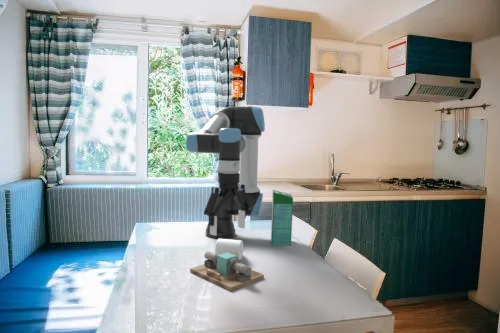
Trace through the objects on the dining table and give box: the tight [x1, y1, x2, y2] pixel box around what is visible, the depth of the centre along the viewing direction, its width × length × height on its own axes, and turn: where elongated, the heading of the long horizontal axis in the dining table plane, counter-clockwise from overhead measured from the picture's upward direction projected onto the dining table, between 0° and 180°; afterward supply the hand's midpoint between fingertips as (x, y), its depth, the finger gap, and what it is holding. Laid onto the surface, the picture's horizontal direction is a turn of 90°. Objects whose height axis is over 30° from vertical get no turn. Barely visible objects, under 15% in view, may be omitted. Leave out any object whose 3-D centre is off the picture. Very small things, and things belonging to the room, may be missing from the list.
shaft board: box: [189, 251, 265, 292], centre depth 125 cm, size 22×16×7 cm
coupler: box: [217, 252, 237, 275], centre depth 125 cm, size 6×5×6 cm
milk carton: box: [270, 189, 294, 247], centre depth 166 cm, size 9×9×25 cm
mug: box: [214, 238, 244, 261], centre depth 144 cm, size 12×10×8 cm
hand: (227, 231), depth 124 cm, fingers open, 13 cm apart
